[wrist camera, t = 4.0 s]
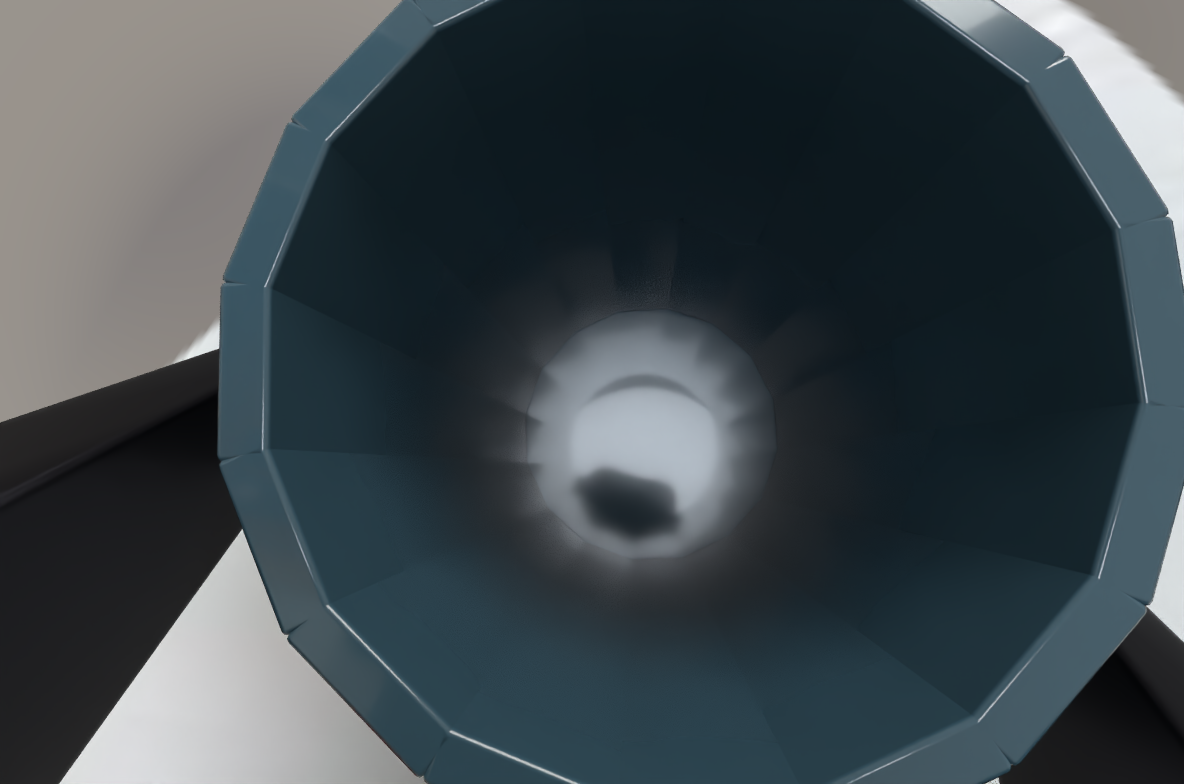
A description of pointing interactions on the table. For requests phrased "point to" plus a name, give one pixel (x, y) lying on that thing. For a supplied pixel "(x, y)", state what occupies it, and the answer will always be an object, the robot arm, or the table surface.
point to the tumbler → (705, 389)
